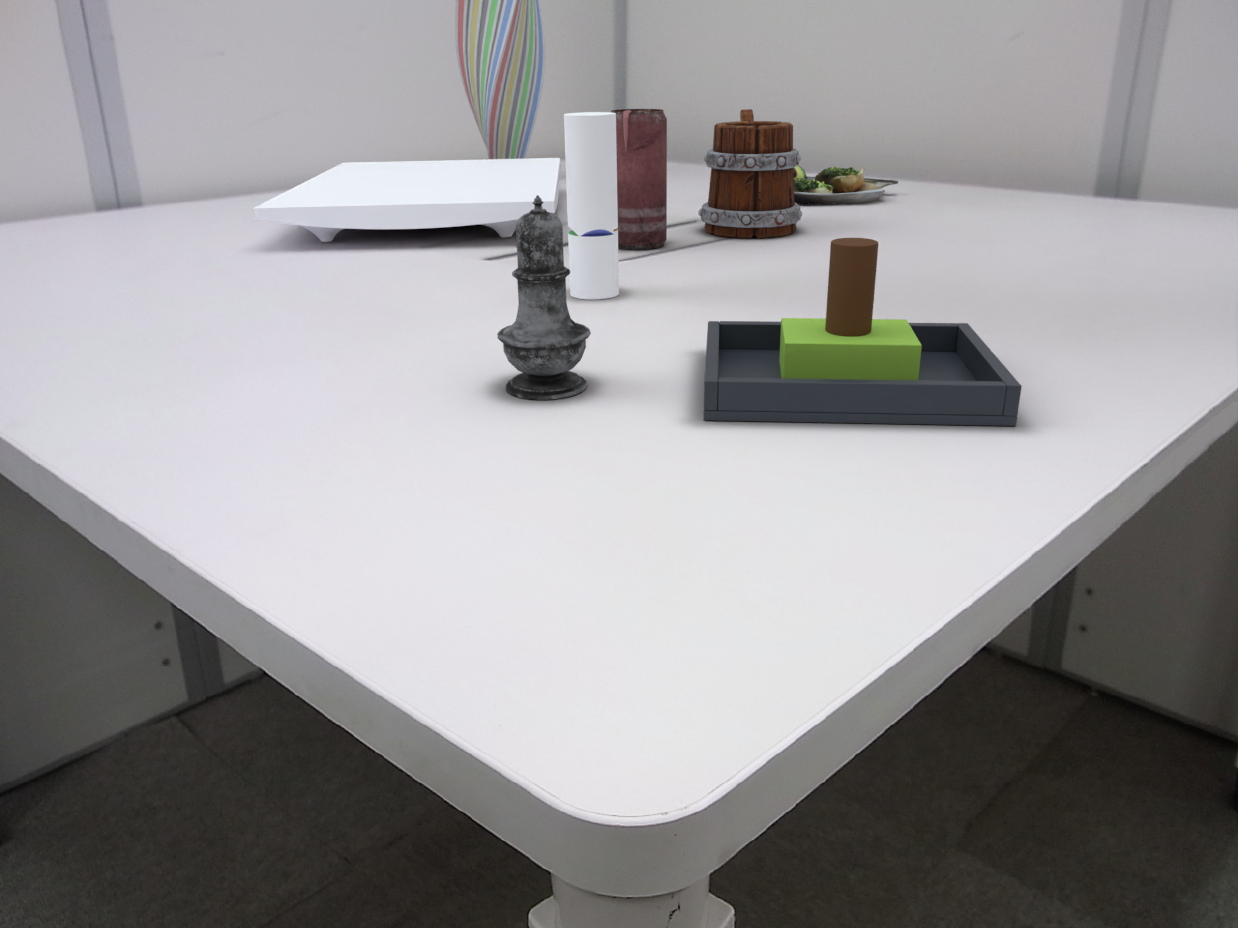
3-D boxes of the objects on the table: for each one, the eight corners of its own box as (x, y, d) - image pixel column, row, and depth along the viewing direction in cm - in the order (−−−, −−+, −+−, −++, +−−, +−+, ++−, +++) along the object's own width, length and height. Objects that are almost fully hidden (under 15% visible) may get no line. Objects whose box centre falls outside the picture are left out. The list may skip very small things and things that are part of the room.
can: (603, 250, 108) (600, 111, 102) (617, 239, 113) (615, 107, 108) (659, 251, 106) (659, 111, 101) (671, 240, 112) (671, 107, 107)
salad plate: (885, 187, 149) (888, 154, 148) (912, 204, 133) (916, 168, 131) (754, 188, 150) (755, 156, 149) (765, 206, 134) (766, 170, 132)
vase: (555, 174, 171) (547, -22, 159) (542, 184, 159) (532, -27, 147) (477, 174, 172) (463, -20, 161) (457, 185, 160) (441, -25, 148)
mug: (701, 238, 111) (702, 95, 108) (694, 238, 125) (695, 111, 122) (808, 237, 111) (812, 93, 107) (789, 237, 125) (792, 110, 121)
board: (556, 245, 110) (554, 201, 109) (259, 252, 110) (252, 208, 108) (561, 190, 152) (560, 157, 150) (346, 195, 151) (342, 162, 149)
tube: (587, 286, 92) (582, 111, 86) (627, 291, 89) (625, 112, 84) (560, 296, 88) (553, 115, 82) (602, 301, 86) (598, 116, 80)
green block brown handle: (902, 364, 66) (915, 233, 63) (916, 393, 61) (931, 251, 57) (779, 361, 67) (785, 232, 64) (782, 390, 62) (789, 250, 58)
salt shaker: (481, 387, 65) (468, 196, 60) (550, 367, 69) (543, 186, 64) (541, 407, 61) (531, 205, 56) (611, 385, 65) (607, 194, 60)
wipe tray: (963, 357, 69) (968, 323, 68) (1016, 426, 57) (1022, 385, 56) (707, 354, 71) (708, 320, 70) (703, 420, 59) (704, 381, 58)
